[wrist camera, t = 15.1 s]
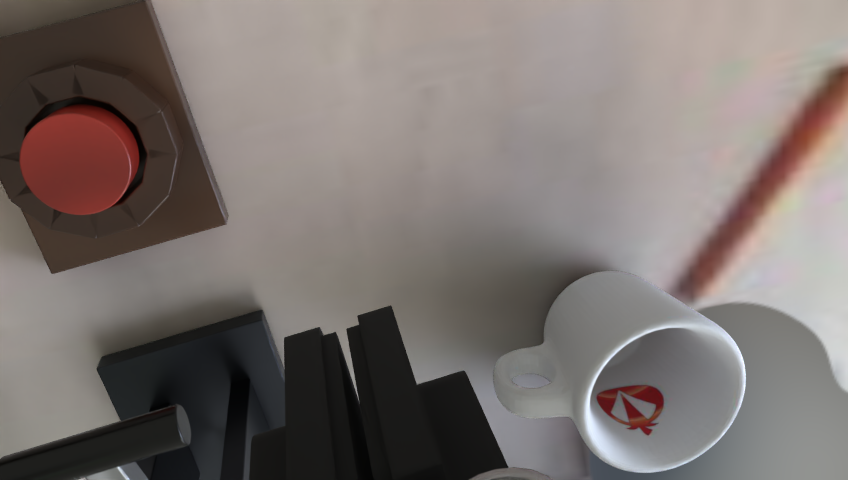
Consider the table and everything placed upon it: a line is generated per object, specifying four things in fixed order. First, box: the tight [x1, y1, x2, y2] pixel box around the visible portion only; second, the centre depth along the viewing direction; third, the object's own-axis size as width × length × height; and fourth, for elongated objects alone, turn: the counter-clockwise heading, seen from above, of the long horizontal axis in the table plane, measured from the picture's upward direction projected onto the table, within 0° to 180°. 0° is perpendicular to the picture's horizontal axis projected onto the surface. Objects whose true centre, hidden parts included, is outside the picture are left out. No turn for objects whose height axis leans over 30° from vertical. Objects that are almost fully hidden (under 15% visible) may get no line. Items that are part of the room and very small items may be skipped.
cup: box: [493, 271, 746, 473], centre depth 38 cm, size 11×8×8 cm
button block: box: [0, 0, 228, 274], centre depth 32 cm, size 10×8×3 cm
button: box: [19, 104, 139, 215], centre depth 30 cm, size 4×4×2 cm
